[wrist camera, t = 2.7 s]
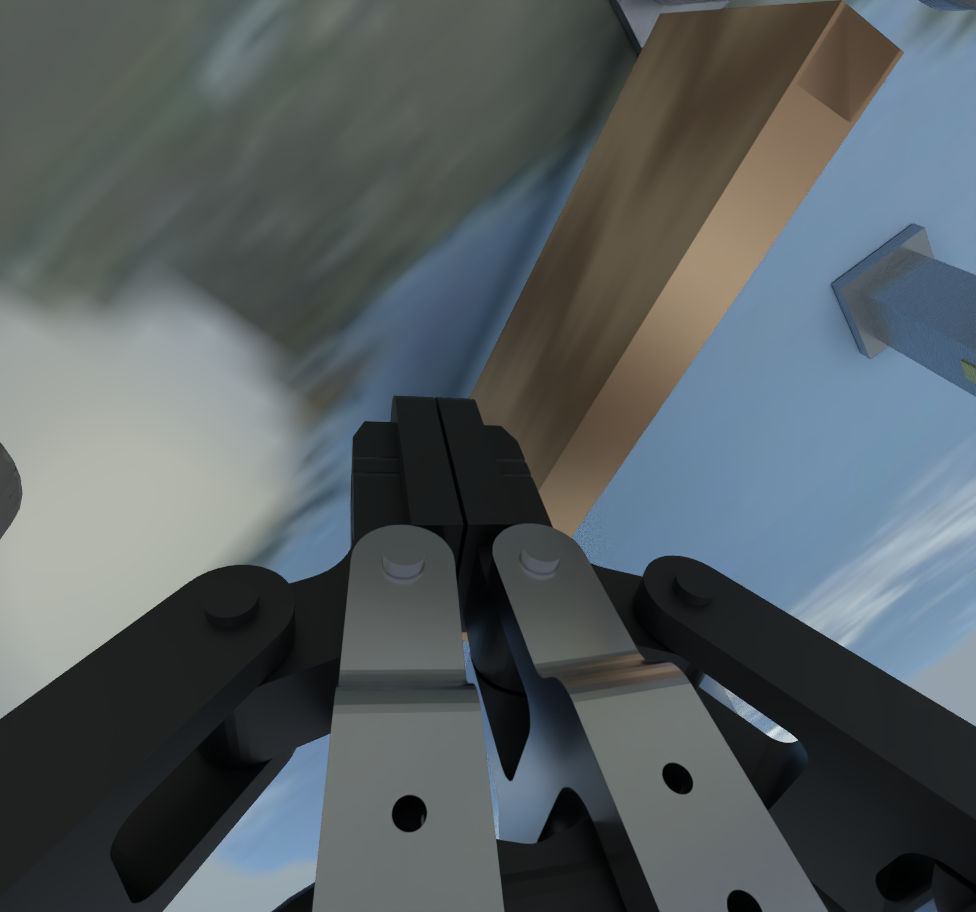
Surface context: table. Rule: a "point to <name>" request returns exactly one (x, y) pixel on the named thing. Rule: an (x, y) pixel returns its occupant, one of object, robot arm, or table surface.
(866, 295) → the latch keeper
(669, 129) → the bar
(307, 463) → the table surface
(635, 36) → the hinge post
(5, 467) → the thermos bottle
